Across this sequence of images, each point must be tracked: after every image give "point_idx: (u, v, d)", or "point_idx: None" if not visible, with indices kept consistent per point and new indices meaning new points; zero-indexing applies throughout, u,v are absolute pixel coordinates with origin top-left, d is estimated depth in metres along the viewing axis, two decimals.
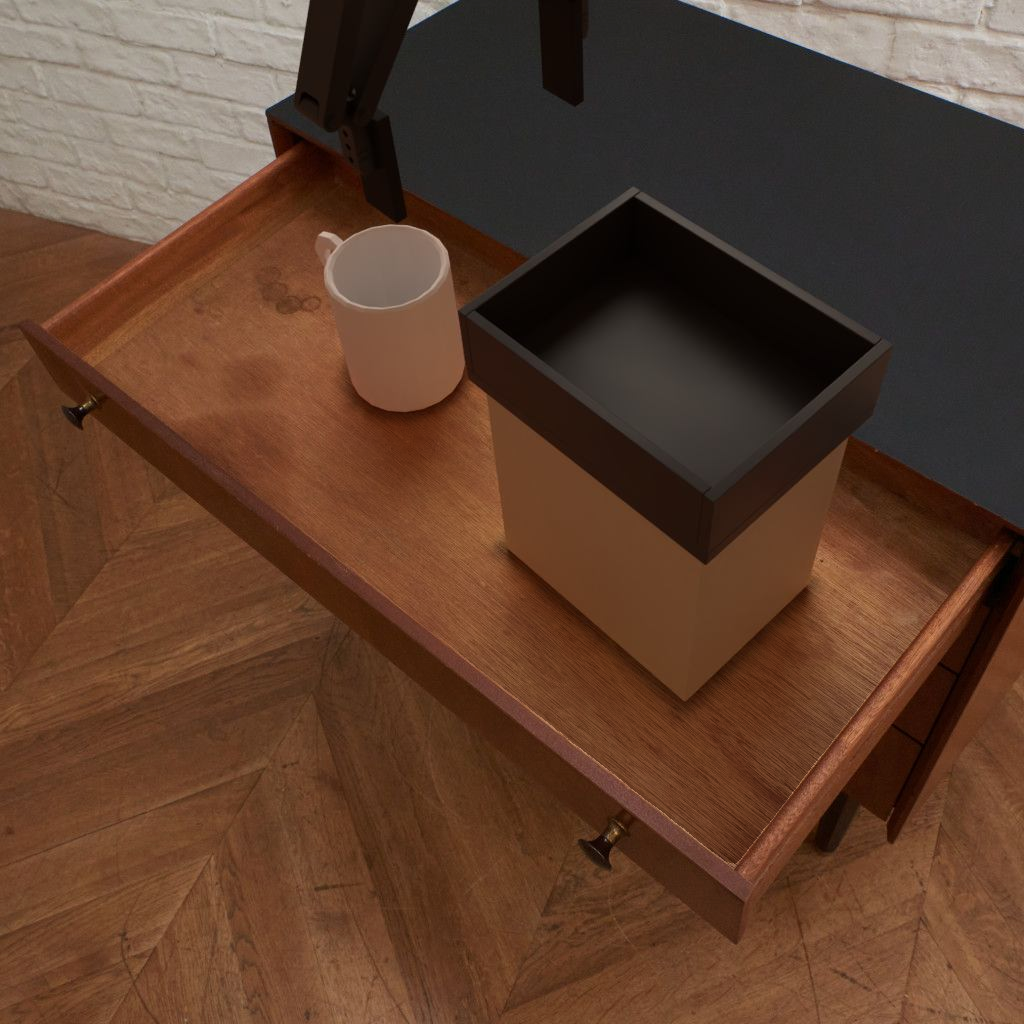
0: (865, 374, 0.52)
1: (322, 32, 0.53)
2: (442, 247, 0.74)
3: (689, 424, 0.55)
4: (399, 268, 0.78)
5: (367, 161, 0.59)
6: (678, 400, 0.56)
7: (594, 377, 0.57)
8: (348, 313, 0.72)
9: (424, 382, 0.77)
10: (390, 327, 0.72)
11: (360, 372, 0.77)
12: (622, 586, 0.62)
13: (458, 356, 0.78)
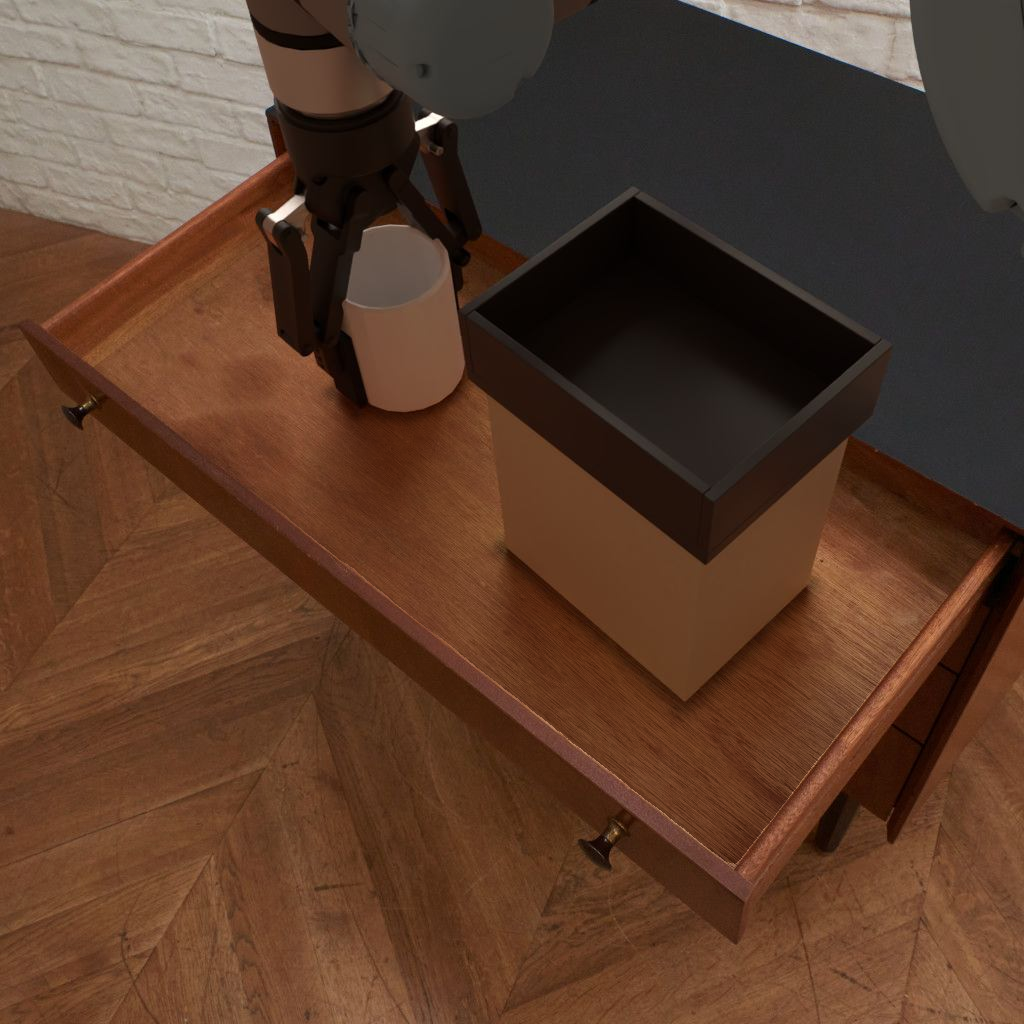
0: (865, 374, 0.52)
1: (284, 295, 0.69)
2: (442, 247, 0.74)
3: (689, 424, 0.55)
4: (399, 268, 0.78)
5: (335, 368, 0.76)
6: (678, 400, 0.56)
7: (594, 377, 0.57)
8: (348, 313, 0.72)
9: (424, 382, 0.77)
10: (390, 327, 0.72)
11: (360, 372, 0.77)
12: (622, 586, 0.62)
13: (458, 356, 0.78)
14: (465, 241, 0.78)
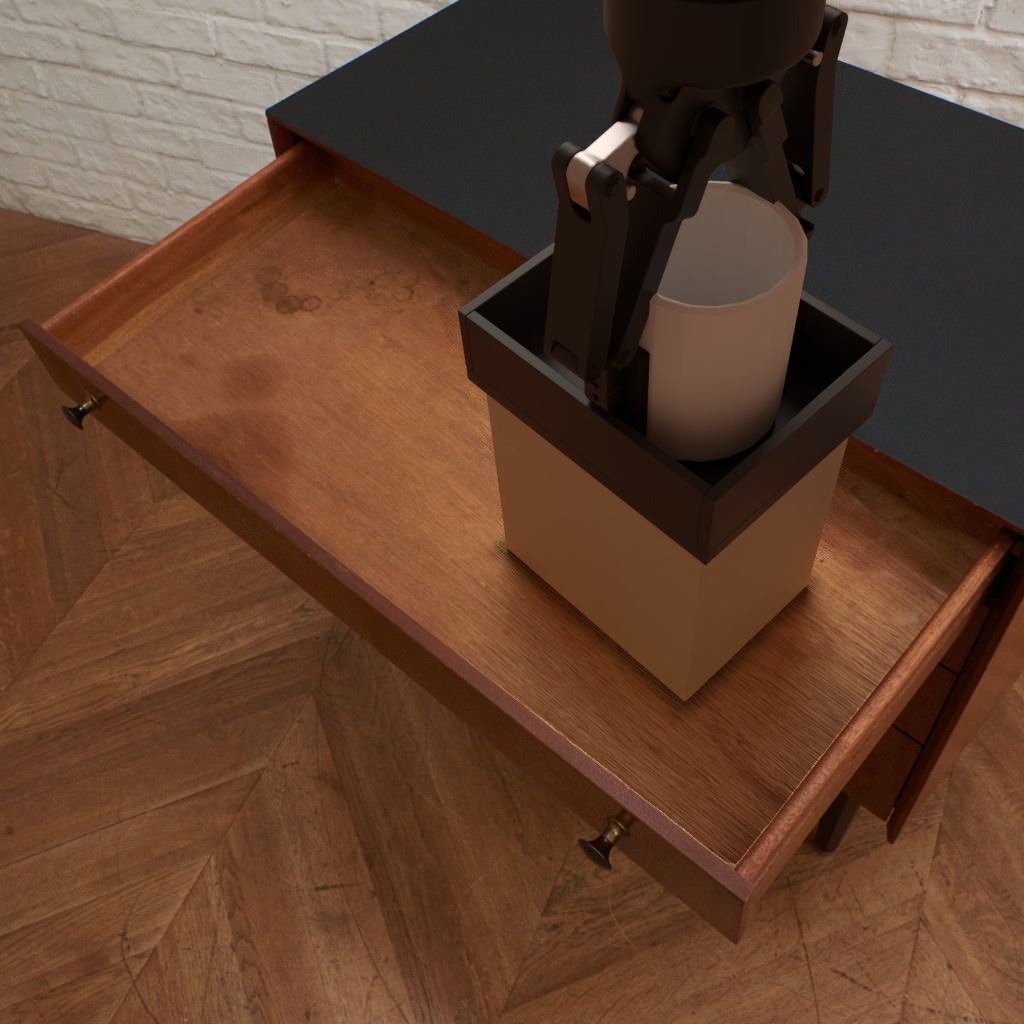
0: (865, 374, 0.52)
1: (574, 286, 0.44)
2: (790, 213, 0.48)
3: None
4: (698, 248, 0.52)
5: (615, 399, 0.50)
6: None
7: None
8: (657, 315, 0.46)
9: (742, 419, 0.51)
10: (723, 337, 0.46)
11: None
12: (622, 586, 0.62)
13: (784, 379, 0.53)
14: (801, 208, 0.52)
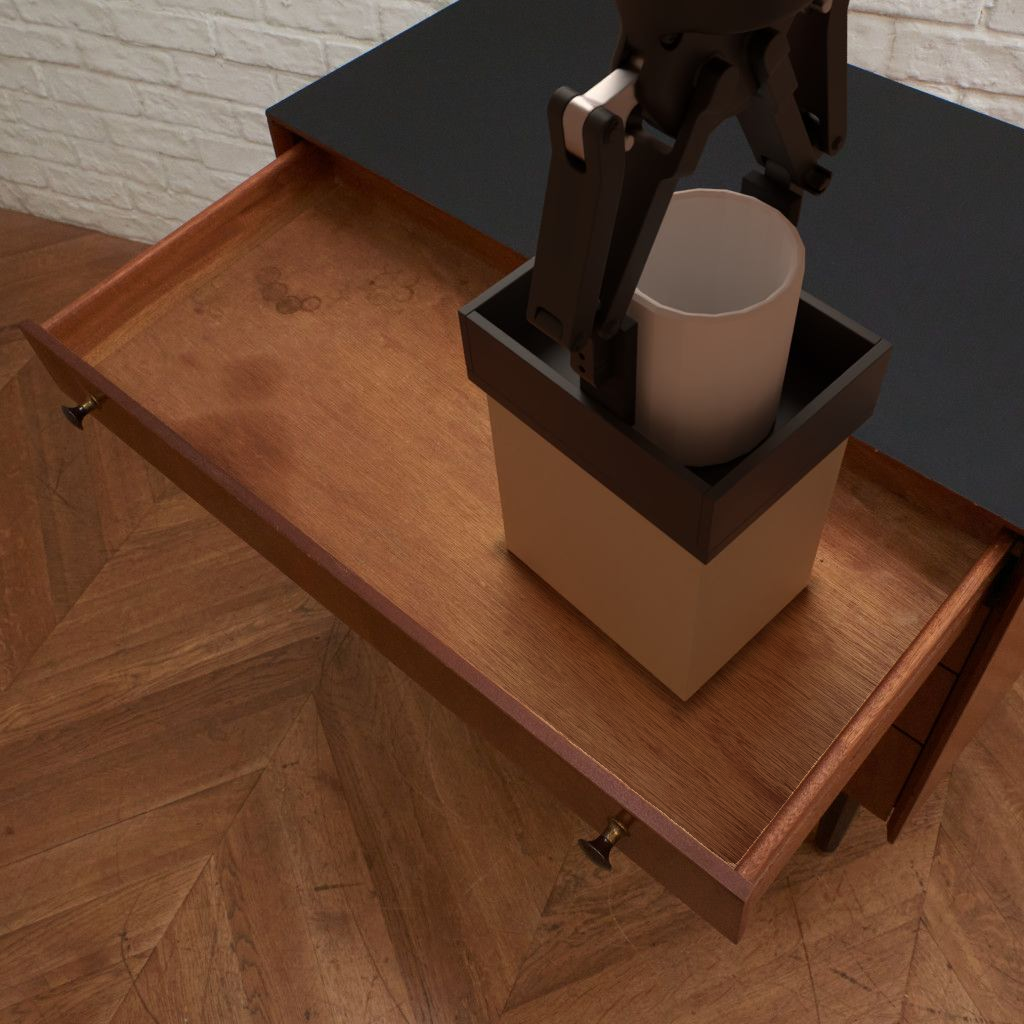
0: (865, 374, 0.52)
1: (563, 245, 0.42)
2: (788, 222, 0.48)
3: None
4: (697, 255, 0.53)
5: (602, 371, 0.48)
6: None
7: None
8: (656, 323, 0.47)
9: (740, 425, 0.52)
10: (721, 345, 0.47)
11: (646, 409, 0.51)
12: (622, 586, 0.62)
13: (782, 385, 0.53)
14: (818, 157, 0.50)
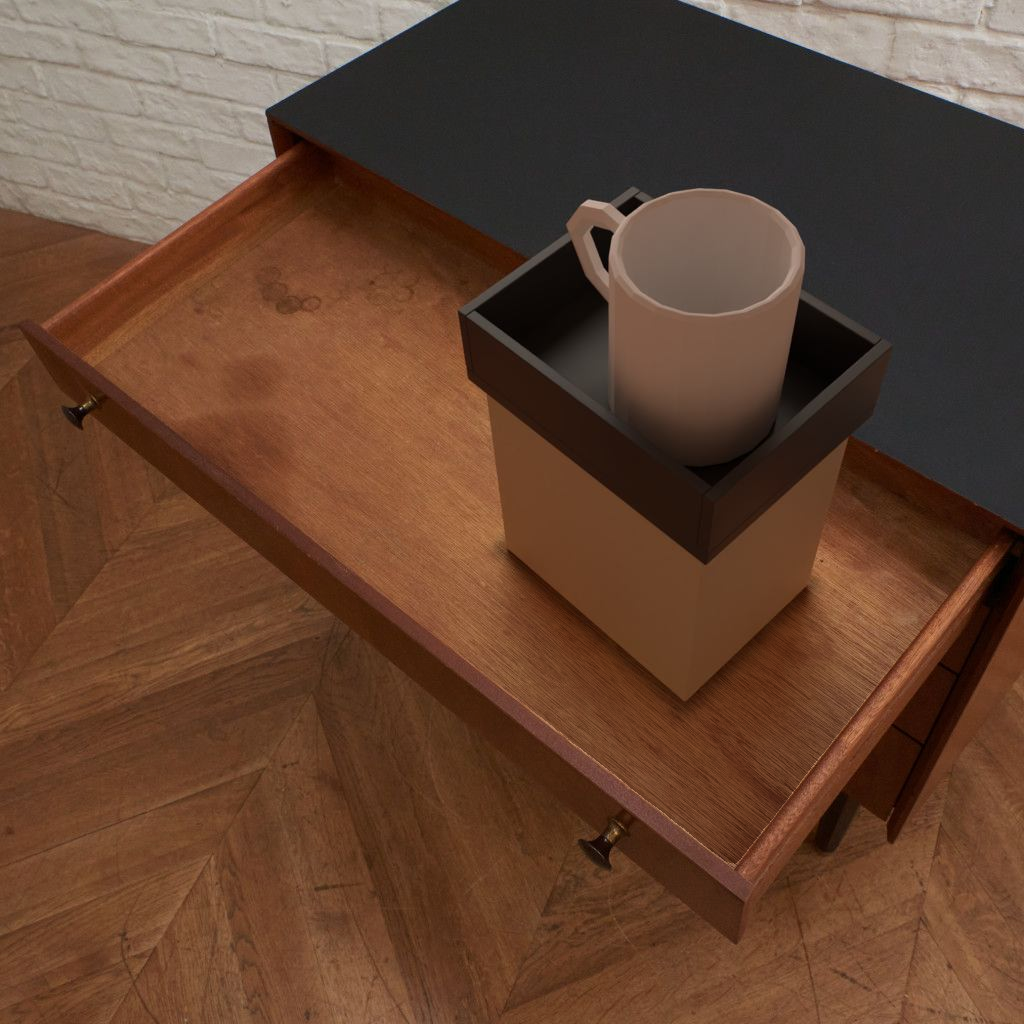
0: (865, 374, 0.52)
1: None
2: (788, 222, 0.48)
3: None
4: (697, 255, 0.53)
5: None
6: None
7: (594, 377, 0.57)
8: (656, 322, 0.47)
9: (740, 425, 0.52)
10: (720, 345, 0.47)
11: (645, 409, 0.51)
12: (622, 586, 0.62)
13: (782, 385, 0.53)
14: None
